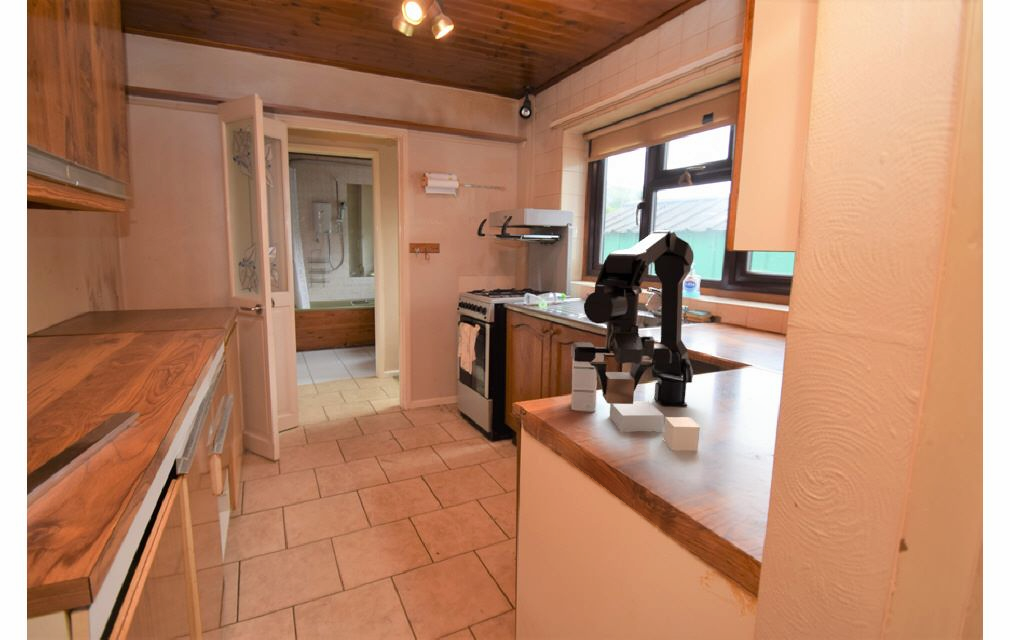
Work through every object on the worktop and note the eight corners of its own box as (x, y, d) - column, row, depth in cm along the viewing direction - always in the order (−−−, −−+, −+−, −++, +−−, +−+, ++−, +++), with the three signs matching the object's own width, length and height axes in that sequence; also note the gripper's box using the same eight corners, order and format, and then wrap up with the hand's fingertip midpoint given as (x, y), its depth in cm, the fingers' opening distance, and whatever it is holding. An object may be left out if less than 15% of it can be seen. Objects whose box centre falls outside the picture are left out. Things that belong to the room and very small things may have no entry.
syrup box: (595, 412, 110) (598, 352, 108) (570, 410, 111) (572, 351, 109) (595, 404, 116) (598, 347, 113) (571, 402, 117) (574, 346, 114)
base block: (647, 417, 108) (648, 401, 108) (662, 433, 99) (664, 415, 99) (609, 417, 108) (610, 401, 107) (621, 433, 99) (622, 415, 98)
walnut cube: (626, 395, 96) (628, 372, 95) (633, 404, 91) (634, 379, 90) (602, 395, 96) (603, 371, 95) (607, 403, 91) (608, 378, 90)
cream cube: (687, 440, 95) (689, 417, 94) (697, 451, 90) (699, 427, 89) (663, 440, 95) (665, 417, 94) (671, 450, 90) (673, 426, 89)
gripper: (580, 323, 83) (577, 407, 85) (685, 325, 83) (678, 409, 85) (572, 314, 94) (569, 388, 96) (664, 316, 94) (659, 390, 96)
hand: (617, 394), depth 93 cm, fingers closed on walnut cube, 5 cm apart
